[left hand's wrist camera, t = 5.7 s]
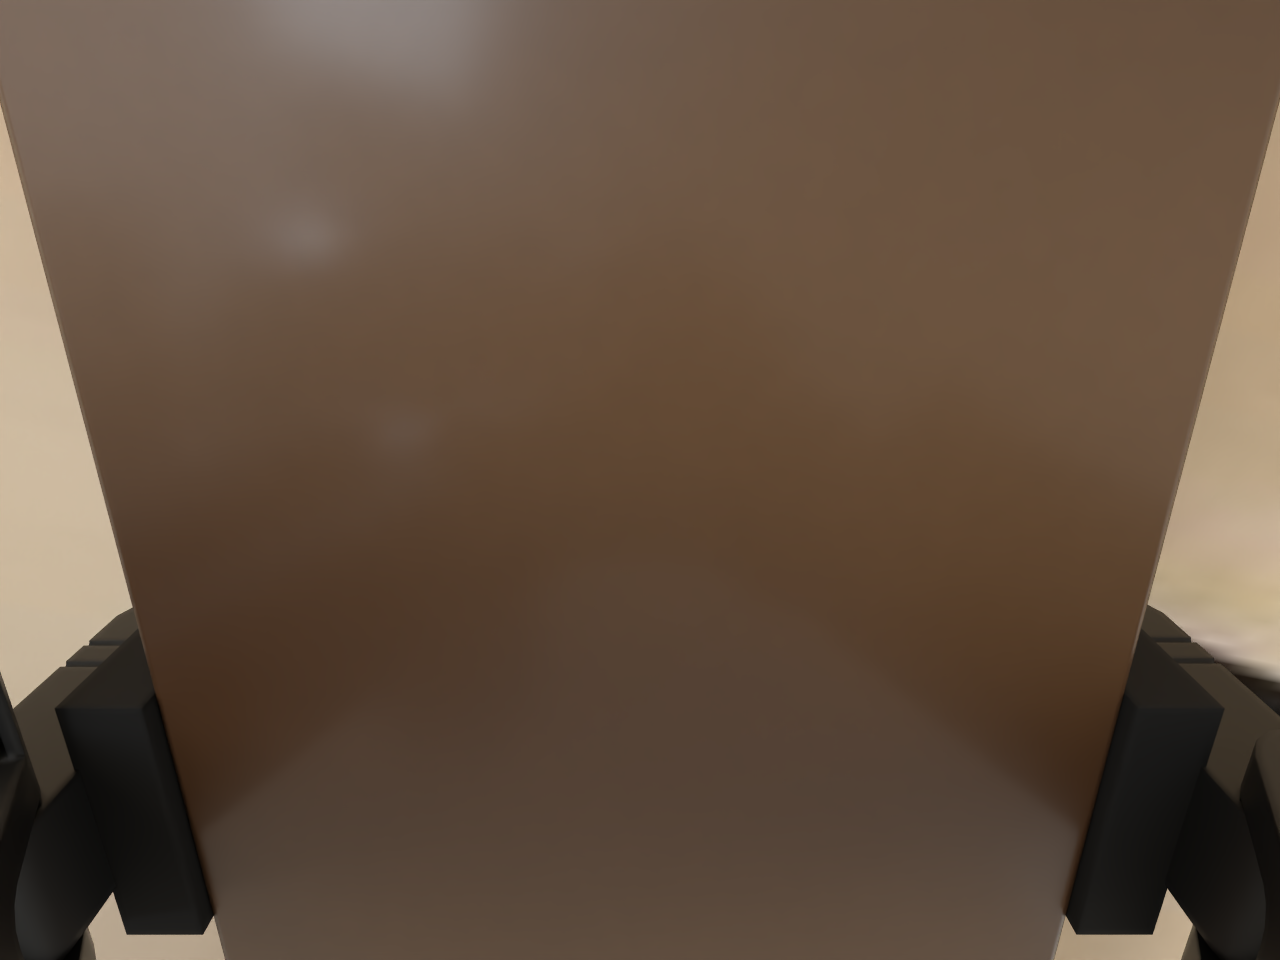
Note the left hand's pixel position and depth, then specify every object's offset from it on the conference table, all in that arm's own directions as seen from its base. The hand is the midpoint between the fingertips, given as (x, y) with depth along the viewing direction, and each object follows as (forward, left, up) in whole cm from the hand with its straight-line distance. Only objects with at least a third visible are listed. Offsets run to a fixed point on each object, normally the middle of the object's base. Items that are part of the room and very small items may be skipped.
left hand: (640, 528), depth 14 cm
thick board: (+13, +23, 0) cm, 26 cm away
